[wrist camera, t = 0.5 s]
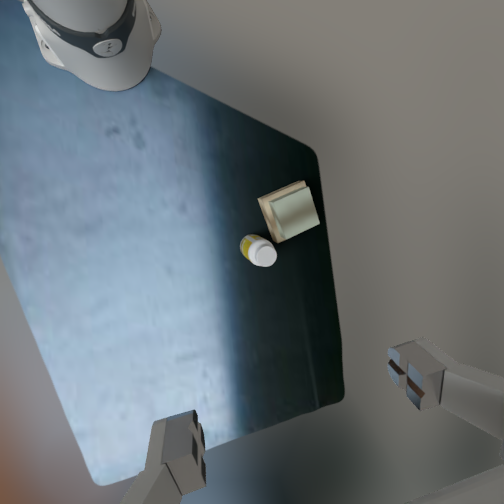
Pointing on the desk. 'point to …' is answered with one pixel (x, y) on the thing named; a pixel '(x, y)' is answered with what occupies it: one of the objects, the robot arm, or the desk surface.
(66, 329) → the desk surface
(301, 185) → the two-tone square platform
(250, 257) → the supplement bottle
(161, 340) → the desk surface
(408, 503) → the robot arm
